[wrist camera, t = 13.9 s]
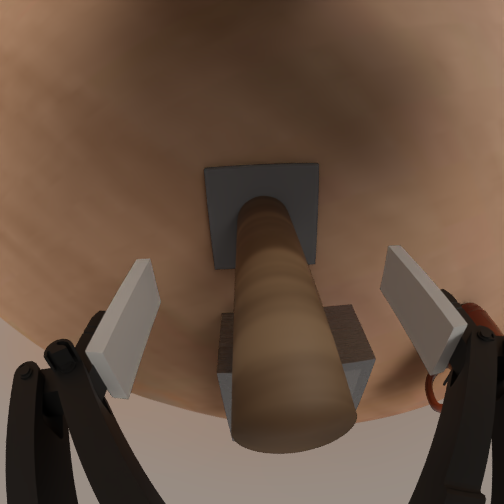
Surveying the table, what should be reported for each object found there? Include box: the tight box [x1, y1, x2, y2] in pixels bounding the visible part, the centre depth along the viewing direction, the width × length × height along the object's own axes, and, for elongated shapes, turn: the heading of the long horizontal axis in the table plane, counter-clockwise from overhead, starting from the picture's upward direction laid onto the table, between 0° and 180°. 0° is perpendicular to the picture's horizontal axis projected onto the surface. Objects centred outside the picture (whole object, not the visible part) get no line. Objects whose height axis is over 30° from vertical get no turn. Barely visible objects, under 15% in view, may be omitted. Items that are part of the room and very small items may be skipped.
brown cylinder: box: [231, 196, 357, 454], centre depth 15 cm, size 4×4×16 cm
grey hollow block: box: [217, 305, 376, 441], centre depth 26 cm, size 12×12×7 cm
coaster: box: [204, 163, 319, 270], centre depth 22 cm, size 8×8×1 cm
